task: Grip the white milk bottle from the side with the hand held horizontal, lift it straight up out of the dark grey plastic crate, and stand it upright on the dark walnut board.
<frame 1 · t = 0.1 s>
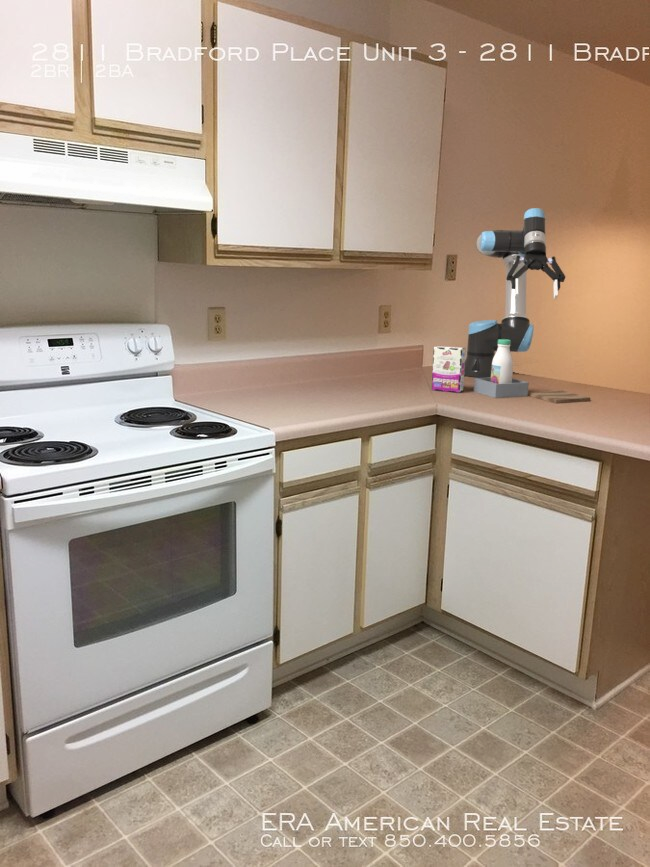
hand: (536, 296, 257), 36 cm above the countertop, tool tilted 35°, fingers open, 13 cm apart
candy bar box: (447, 391, 273), on the countertop
walnut board: (559, 398, 262), on the countertop
milk bottle: (500, 394, 269), resting in crate
crate: (500, 393, 269), on the countertop
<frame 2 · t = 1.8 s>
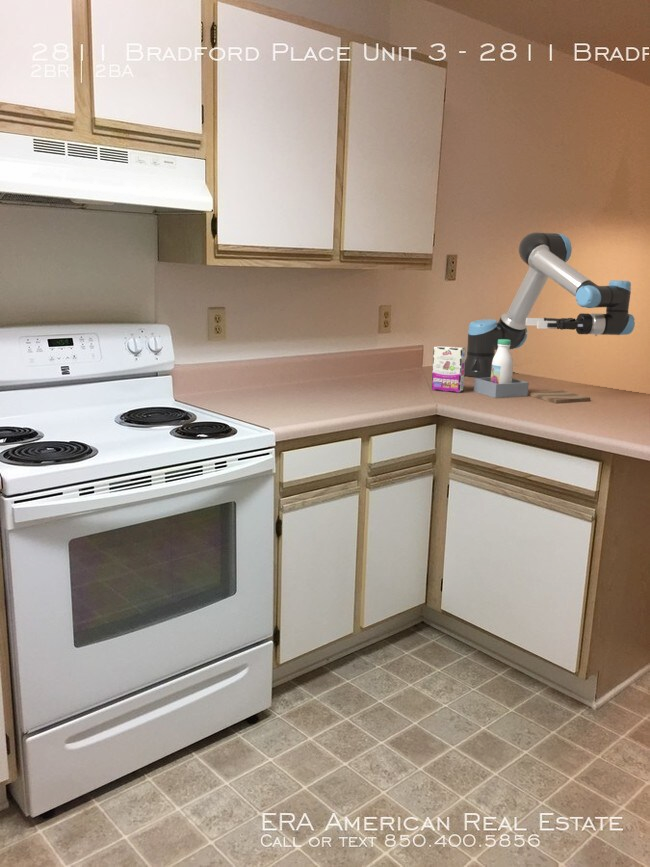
hand: (531, 323, 263), 26 cm above the countertop, tool horizontal, fingers open, 13 cm apart
nothing on the countertop moved.
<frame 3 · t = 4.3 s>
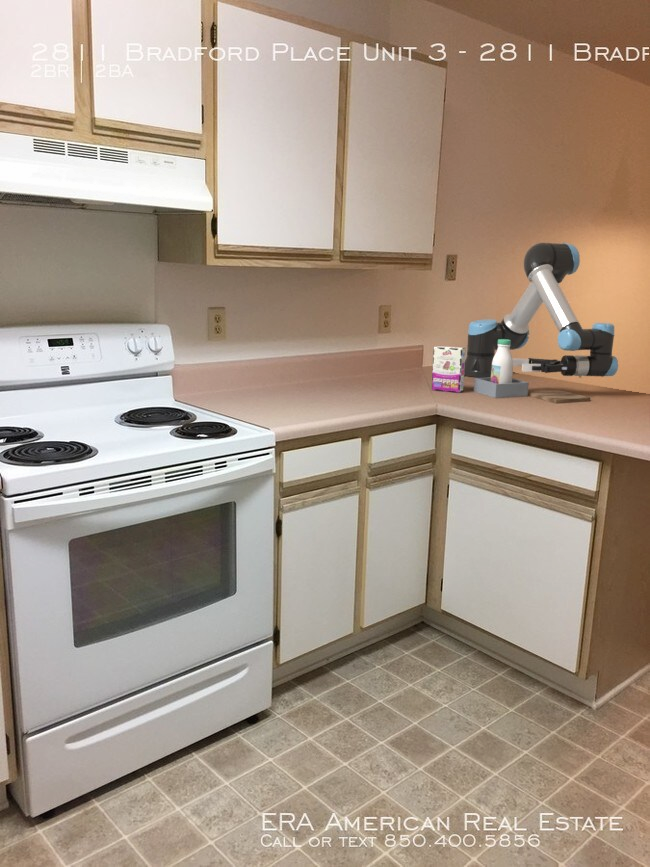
hand: (516, 364, 266), 11 cm above the countertop, tool horizontal, fingers open, 13 cm apart
nothing on the countertop moved.
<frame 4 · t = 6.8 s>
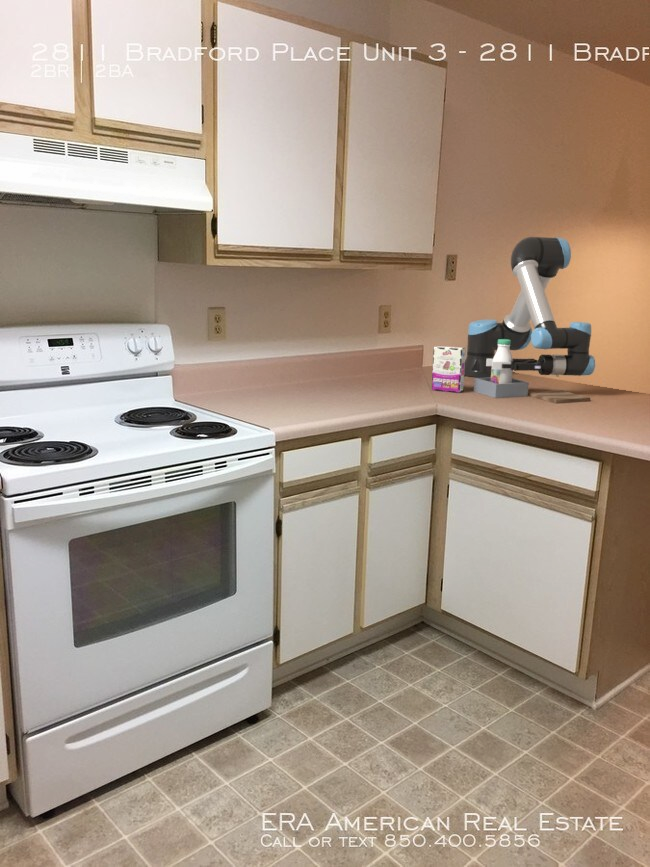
hand: (489, 363, 266), 11 cm above the countertop, tool horizontal, fingers closed on milk bottle, 7 cm apart
milk bottle: (500, 394, 269), resting in crate, touching gripper
everything else where it was.
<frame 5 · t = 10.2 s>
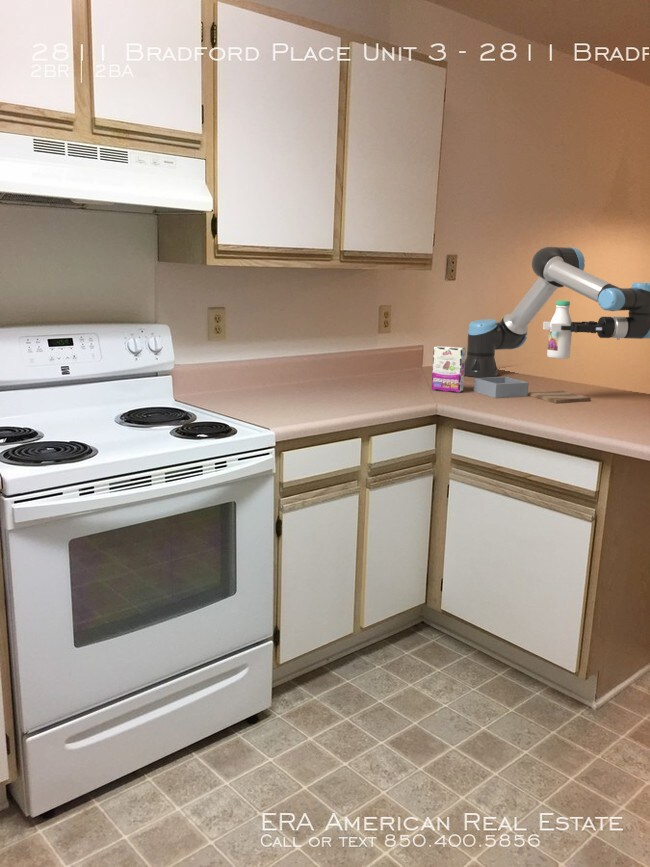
hand: (547, 326, 256), 26 cm above the countertop, tool horizontal, fingers closed on milk bottle, 7 cm apart
milk bottle: (558, 358, 259), point 14 cm above the countertop, touching gripper
everything else where it was.
when the fingers open (13 cm above the countertop, at t = 13.5 s): milk bottle stays where it is, resting on walnut board.
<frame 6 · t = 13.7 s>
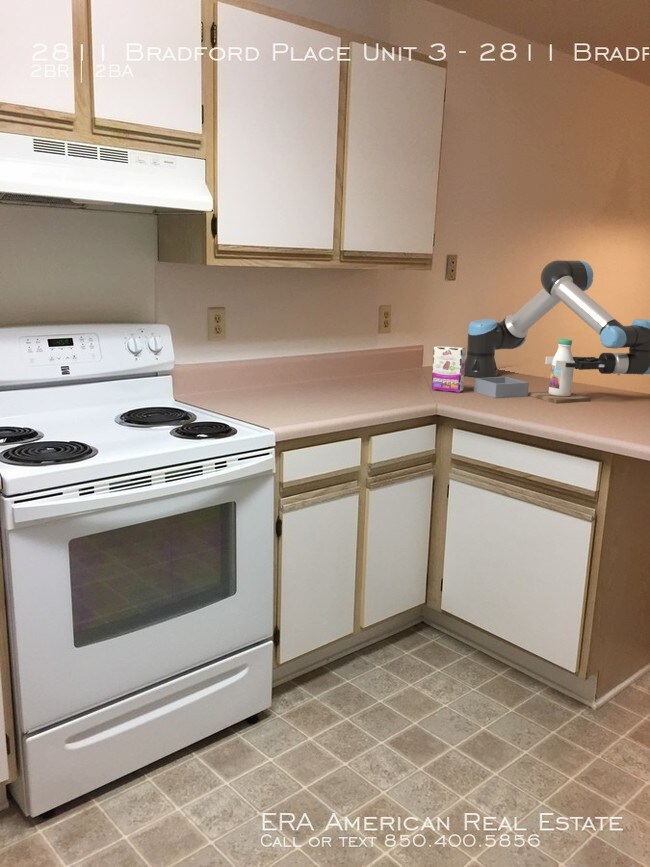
hand: (550, 362, 259), 13 cm above the countertop, tool horizontal, fingers open, 10 cm apart
milk bottle: (559, 395, 262), point 1 cm above the countertop, touching walnut board
everything else where it was.
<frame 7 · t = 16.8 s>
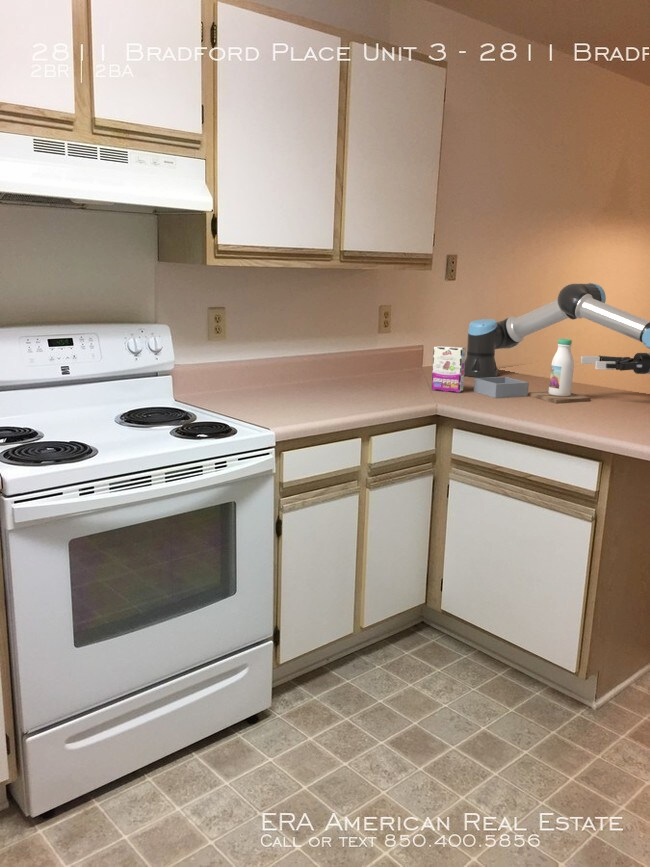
hand: (588, 362, 259), 13 cm above the countertop, tool horizontal, fingers open, 13 cm apart
nothing on the countertop moved.
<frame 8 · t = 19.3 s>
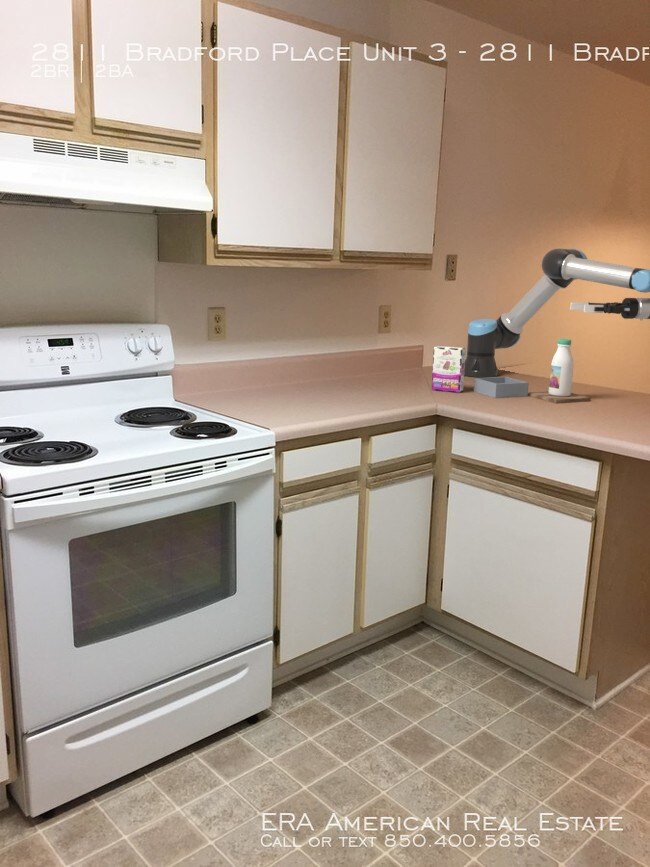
hand: (577, 307, 264), 32 cm above the countertop, tool horizontal, fingers open, 13 cm apart
nothing on the countertop moved.
at the end: milk bottle inside the target area on the walnut board (0.1 cm from its centre), point 1.0 cm above the walnut board's base; milk bottle tilted 0°; the gripper is holding nothing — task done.
